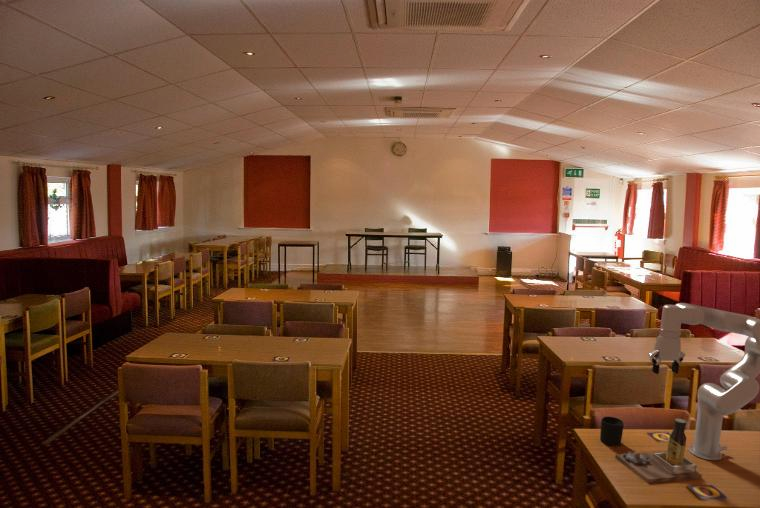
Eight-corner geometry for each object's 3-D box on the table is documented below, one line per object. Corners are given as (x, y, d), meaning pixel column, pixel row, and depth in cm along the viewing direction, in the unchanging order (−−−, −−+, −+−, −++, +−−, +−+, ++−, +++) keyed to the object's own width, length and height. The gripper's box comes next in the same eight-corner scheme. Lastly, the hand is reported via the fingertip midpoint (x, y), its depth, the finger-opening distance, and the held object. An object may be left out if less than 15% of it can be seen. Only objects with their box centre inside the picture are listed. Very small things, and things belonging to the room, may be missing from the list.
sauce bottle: (662, 462, 232) (667, 416, 229) (675, 461, 232) (681, 416, 230) (671, 470, 225) (677, 423, 223) (686, 469, 226) (692, 423, 224)
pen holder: (626, 445, 249) (628, 424, 248) (609, 447, 246) (611, 426, 244) (611, 436, 258) (613, 415, 256) (594, 438, 255) (596, 417, 253)
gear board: (665, 454, 242) (666, 444, 242) (701, 478, 223) (702, 467, 222) (615, 457, 236) (616, 447, 236) (647, 482, 217) (648, 471, 217)
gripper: (680, 331, 242) (675, 369, 244) (646, 331, 238) (641, 370, 240) (693, 336, 235) (688, 375, 237) (658, 336, 231) (653, 376, 233)
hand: (665, 372), depth 239 cm, fingers open, 9 cm apart
